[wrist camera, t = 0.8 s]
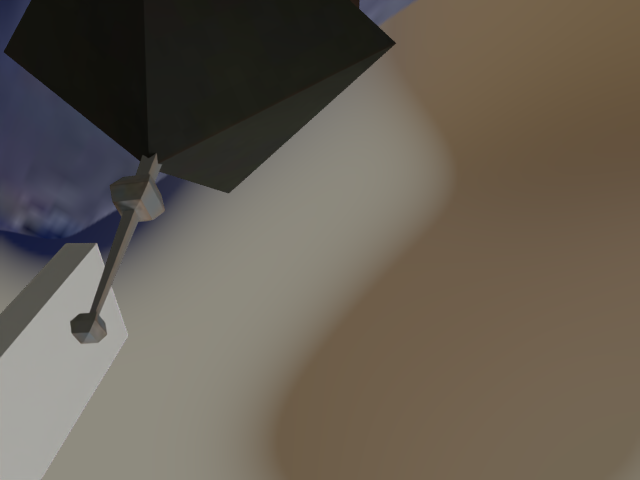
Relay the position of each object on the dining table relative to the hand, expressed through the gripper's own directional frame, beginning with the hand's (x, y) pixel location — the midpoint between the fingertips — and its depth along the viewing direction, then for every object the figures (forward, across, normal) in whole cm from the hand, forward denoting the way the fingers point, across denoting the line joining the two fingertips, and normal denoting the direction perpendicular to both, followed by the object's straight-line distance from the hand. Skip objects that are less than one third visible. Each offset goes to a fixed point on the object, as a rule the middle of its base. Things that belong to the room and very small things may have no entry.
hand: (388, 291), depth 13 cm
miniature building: (+24, -5, +11) cm, 27 cm away
